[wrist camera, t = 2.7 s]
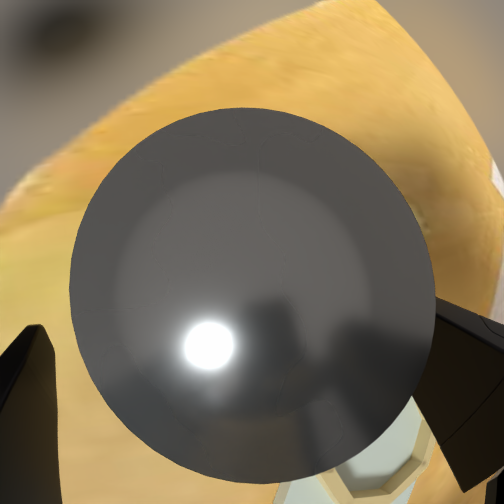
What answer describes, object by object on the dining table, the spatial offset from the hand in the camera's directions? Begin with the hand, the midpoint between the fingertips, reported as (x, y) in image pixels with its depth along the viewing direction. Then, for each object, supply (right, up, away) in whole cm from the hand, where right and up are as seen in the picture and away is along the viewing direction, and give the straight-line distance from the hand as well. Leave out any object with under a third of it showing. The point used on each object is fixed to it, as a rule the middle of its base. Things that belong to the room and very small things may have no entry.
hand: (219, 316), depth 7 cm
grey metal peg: (-2, -2, +7) cm, 8 cm away
